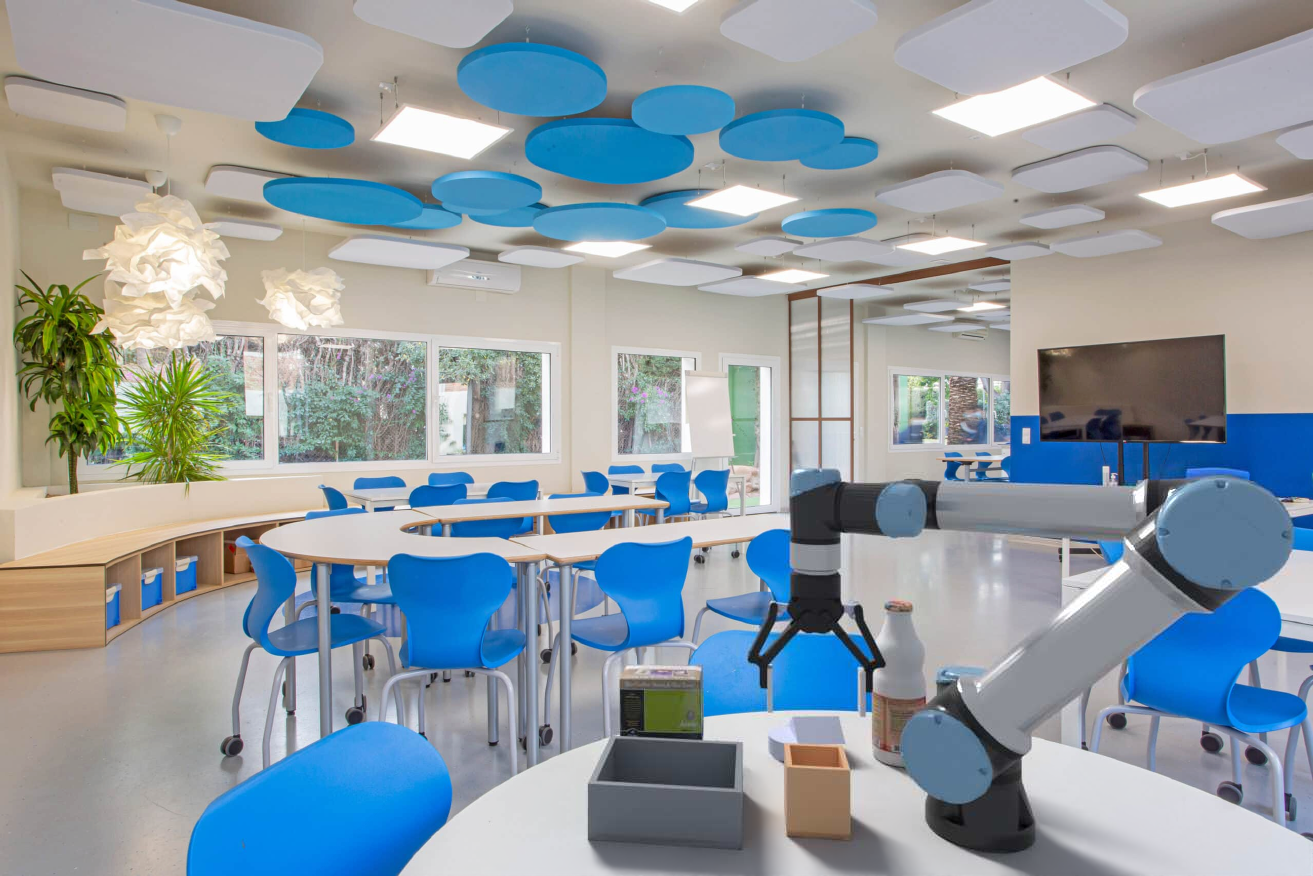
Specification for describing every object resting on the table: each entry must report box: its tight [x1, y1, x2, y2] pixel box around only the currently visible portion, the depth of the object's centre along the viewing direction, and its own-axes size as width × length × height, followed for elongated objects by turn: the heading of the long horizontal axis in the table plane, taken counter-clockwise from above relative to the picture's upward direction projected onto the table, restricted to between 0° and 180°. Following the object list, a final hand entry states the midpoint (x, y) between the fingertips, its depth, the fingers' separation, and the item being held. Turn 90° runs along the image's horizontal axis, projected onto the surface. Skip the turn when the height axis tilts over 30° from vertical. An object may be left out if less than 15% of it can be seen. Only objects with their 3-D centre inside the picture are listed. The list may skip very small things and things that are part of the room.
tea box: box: [619, 663, 705, 740], centre depth 140 cm, size 15×10×15 cm
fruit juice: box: [871, 600, 927, 768], centre depth 137 cm, size 9×9×28 cm
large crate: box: [587, 735, 744, 851], centre depth 116 cm, size 22×18×8 cm
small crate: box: [783, 743, 852, 841], centre depth 113 cm, size 9×9×10 cm
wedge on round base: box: [767, 715, 846, 762], centre depth 139 cm, size 9×7×13 cm
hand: (815, 712), depth 113 cm, fingers open, 13 cm apart
